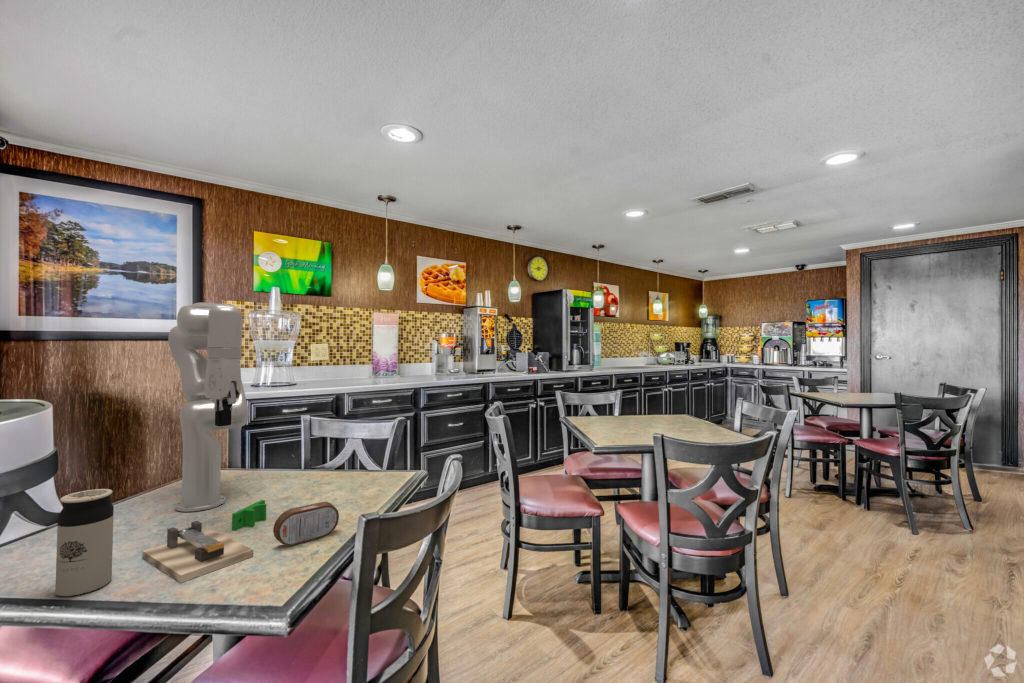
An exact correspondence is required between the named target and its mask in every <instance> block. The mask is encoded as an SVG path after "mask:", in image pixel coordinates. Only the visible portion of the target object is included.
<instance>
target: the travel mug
mask: <svg viewBox="0 0 1024 683" xmlns="http://www.w3.org/2000/svg"><path fill="white" fill-rule="evenodd" d="M112 494H113V490H112V489H109V488H96V489H88V490H82V491H77V492H72V493H69V494H67V495H63V496H62V497H61V498H60V499H59V501H60V503H61V504H62V509H61V511H59V513H58V515H57V532H56V557H55V559H56V561H55V564H56V566H55V589H54V590H55V592H54V593H55V595H57V596H59V597H75V596H74V595H76V596H80V594H81V595H84V594H83V593H85V594H88V593H91V592H90V591H92V592H94V591H96V590H98V588H99V589H100V588H103V587H104V586H106V585H107V584H108V583H110V582H111V581H112V578H113V577H112V576H113V575H112V574H113V573H112V572H113V548H114V546H113V544H114V541H113V540H114V539H113V538H114V512H115V511H114V508H115V507H114V505H113V504H112V502H111V500H110V499H111V495H112ZM102 586H103V587H102ZM93 590H94V591H93ZM87 592H88V593H87Z"/></svg>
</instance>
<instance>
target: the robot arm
mask: <svg viewBox="0 0 1024 683" xmlns="http://www.w3.org/2000/svg"><path fill="white" fill-rule="evenodd" d="M176 324H177V325H176V326H173V327H172V328H171V329H170V330H169V333H168V336H167V338H168V348H169V352H170V355H171V356H172V358H173V360H174V362H175V363H176V365H177V367H178V368H179V373H180V374H179V375H180V382H181V388H182V394H183V397H184V398H185V400H186V402H187V403H185V404H183V405H182V406H181V408H180V410H179V411H180V412H179V420H180V426H181V433H182V434H181V435H182V472H181V473H182V474H181V475H182V476H181V480H182V481H181V500H180V501H178V502H177V503H175V505H174V510H176V511H178V512H182V513H183V512H184V513H185V512H190V513H191V512H199V511H200V512H201V511H205V510H210V509H213V508H216V507H217V508H218V507H219V505H220V506H222V505H223V504H225V503H226V501H227V497H226V496H225V495H223V494H221V472H222V470H221V467H222V465H221V464H222V445H221V442H220V440H219V439H217V437H216V436H214V435H213V434H212V432H215V431H222V430H232V429H238V428H242V427H243V426H245V425H246V424H247V423H248V421H249V407H248V403H247V397H246V393H245V388H244V385H243V381H242V373H241V372H242V371H241V361H242V352H243V351H242V346H243V344H242V343H243V342H242V341H243V340H242V339H243V336H242V335H243V334H242V333H243V327H244V326H243V325H244V320H243V313H242V311H241V310H240V309H238V308H237V307H236V305H232V304H229V303H228V304H227V303H218V302H217V303H215V302H196V303H192V304H190V305H183V306H181V308H180V309H179V310H178V313H177V317H176ZM198 351H206V352H207V353H206V355H207V356H206V357H207V358H206V357H205V356H204V355H203V354H201V353H200V352H198ZM221 504H222V505H221Z"/></svg>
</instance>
